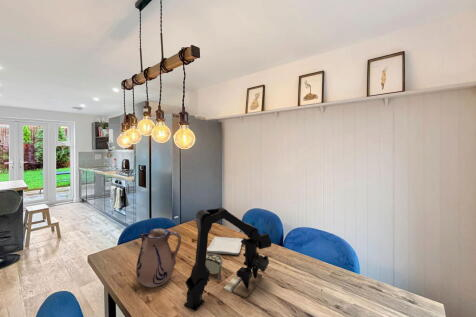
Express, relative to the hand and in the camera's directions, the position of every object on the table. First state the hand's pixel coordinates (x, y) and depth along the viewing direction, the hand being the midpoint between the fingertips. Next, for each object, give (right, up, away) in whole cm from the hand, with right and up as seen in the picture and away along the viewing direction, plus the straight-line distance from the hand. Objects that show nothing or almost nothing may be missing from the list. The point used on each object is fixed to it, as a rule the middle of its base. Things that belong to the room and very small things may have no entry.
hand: (251, 282), depth 105 cm
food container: (-19, -1, +9) cm, 21 cm away
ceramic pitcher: (-46, -1, +4) cm, 46 cm away
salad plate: (-15, 0, +40) cm, 42 cm away
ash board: (-7, -1, +4) cm, 8 cm away
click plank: (-1, -1, +1) cm, 2 cm away
